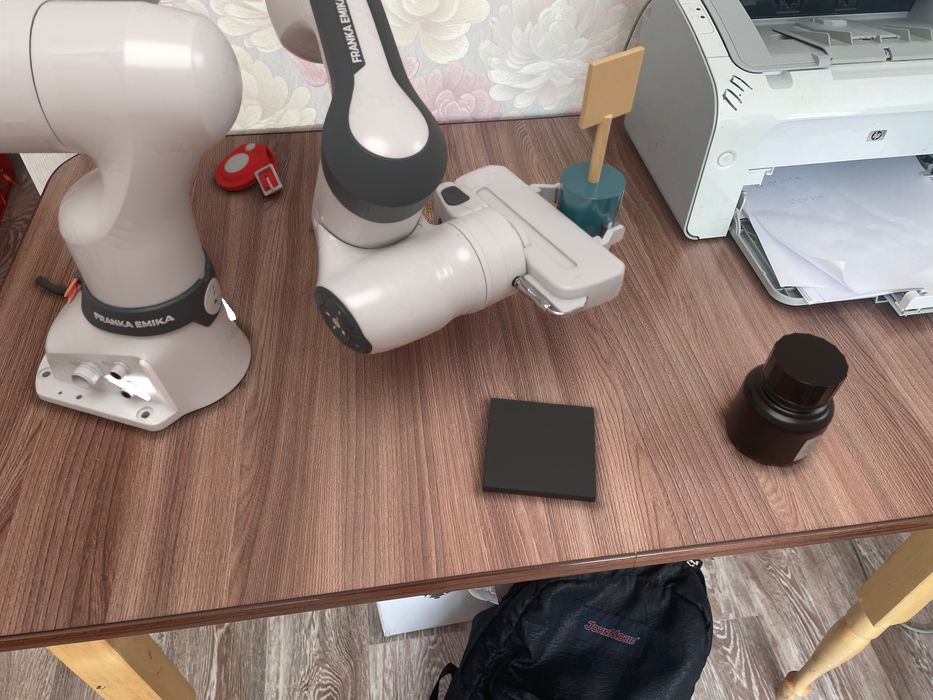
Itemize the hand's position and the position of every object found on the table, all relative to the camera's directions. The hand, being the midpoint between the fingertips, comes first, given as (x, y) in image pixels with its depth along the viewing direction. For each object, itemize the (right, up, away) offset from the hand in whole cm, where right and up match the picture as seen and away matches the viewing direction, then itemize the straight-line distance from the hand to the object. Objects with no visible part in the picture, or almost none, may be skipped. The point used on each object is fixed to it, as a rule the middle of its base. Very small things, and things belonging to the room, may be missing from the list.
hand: (593, 208), depth 73 cm
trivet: (-5, -25, 0) cm, 25 cm away
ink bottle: (+19, -23, +3) cm, 30 cm away
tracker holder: (-44, +10, +30) cm, 54 cm away
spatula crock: (-1, -4, +4) cm, 6 cm away
